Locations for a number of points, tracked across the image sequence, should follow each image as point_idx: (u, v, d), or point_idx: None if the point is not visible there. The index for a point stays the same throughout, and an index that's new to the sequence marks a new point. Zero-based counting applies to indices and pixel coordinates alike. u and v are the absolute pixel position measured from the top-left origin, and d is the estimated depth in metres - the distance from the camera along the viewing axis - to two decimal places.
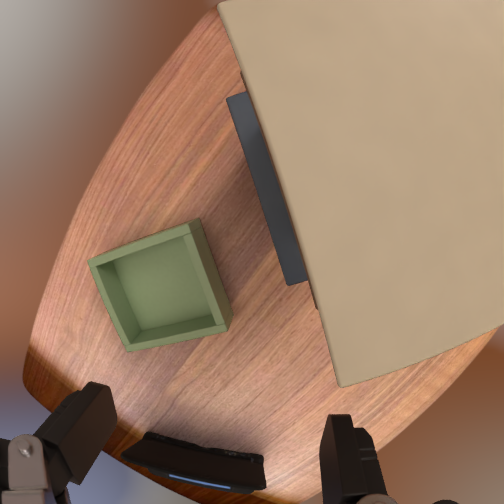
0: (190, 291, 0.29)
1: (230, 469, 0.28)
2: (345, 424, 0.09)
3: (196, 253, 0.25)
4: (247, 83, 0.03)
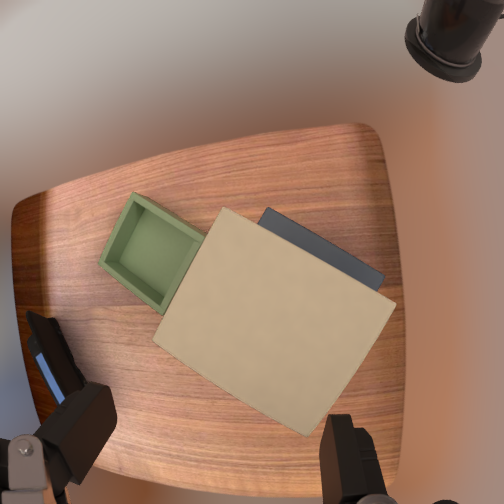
0: (168, 272, 0.36)
1: None
2: (345, 424, 0.09)
3: (191, 257, 0.32)
4: (204, 239, 0.10)
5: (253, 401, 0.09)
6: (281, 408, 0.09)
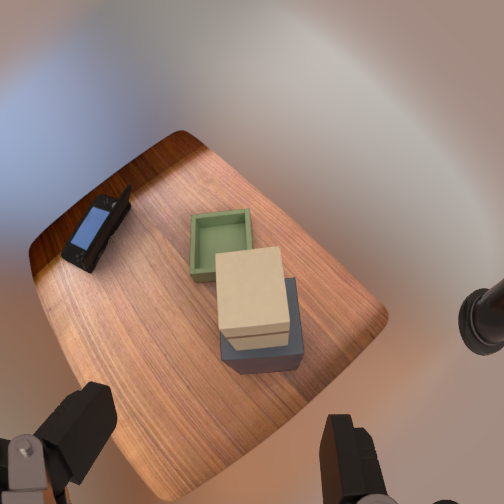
0: None
1: (97, 246, 0.48)
2: (345, 424, 0.09)
3: None
4: None
5: (220, 300, 0.23)
6: (224, 311, 0.22)
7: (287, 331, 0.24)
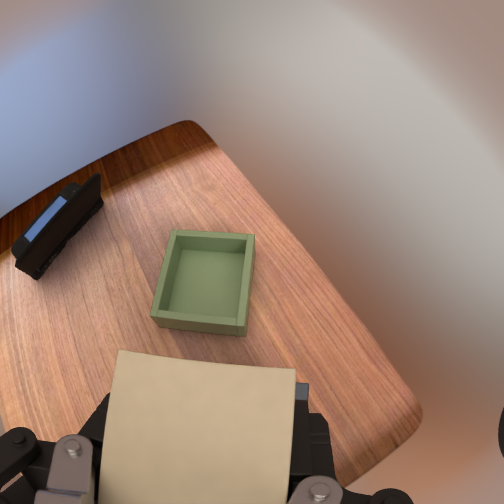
0: (193, 303, 0.34)
1: (42, 249, 0.33)
2: (301, 408, 0.09)
3: (218, 322, 0.30)
4: None
5: (106, 477, 0.06)
6: None
7: None
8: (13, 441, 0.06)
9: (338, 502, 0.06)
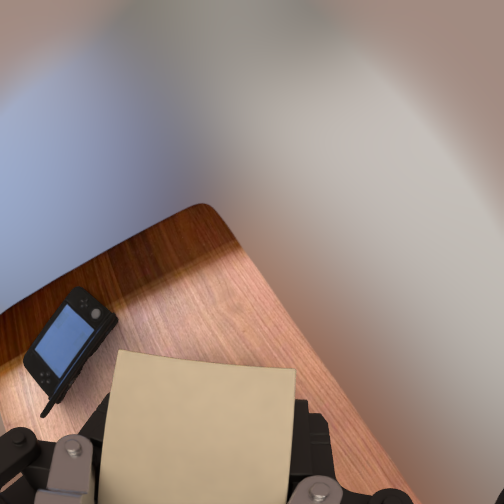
0: None
1: None
2: (301, 408, 0.09)
3: None
4: (251, 366, 0.08)
5: (106, 477, 0.06)
6: None
7: None
8: (13, 441, 0.06)
9: (338, 502, 0.06)
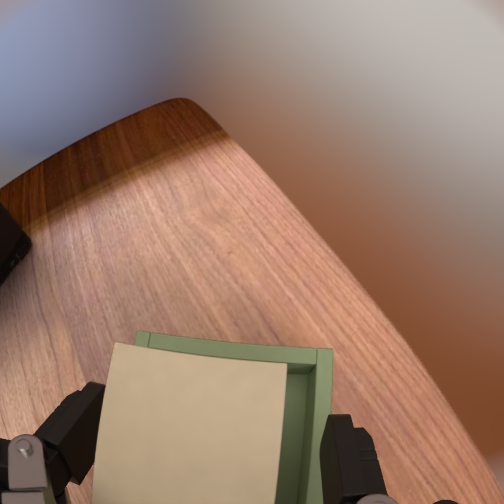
0: None
1: None
2: (345, 424, 0.09)
3: None
4: (243, 360, 0.08)
5: (100, 467, 0.06)
6: (106, 495, 0.06)
7: None
8: None
9: None
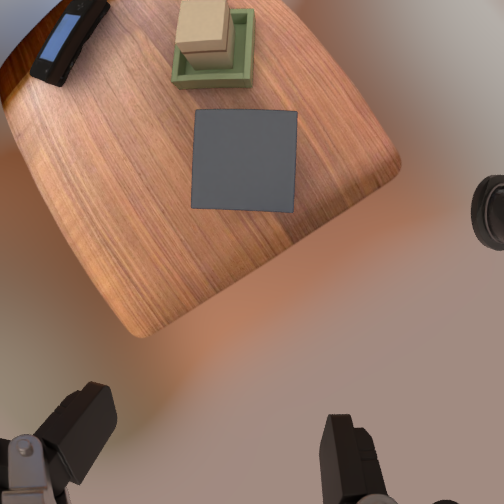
0: None
1: (65, 59, 0.31)
2: (345, 424, 0.09)
3: (228, 77, 0.33)
4: None
5: (179, 26, 0.26)
6: (180, 32, 0.27)
7: (224, 50, 0.29)
8: None
9: None
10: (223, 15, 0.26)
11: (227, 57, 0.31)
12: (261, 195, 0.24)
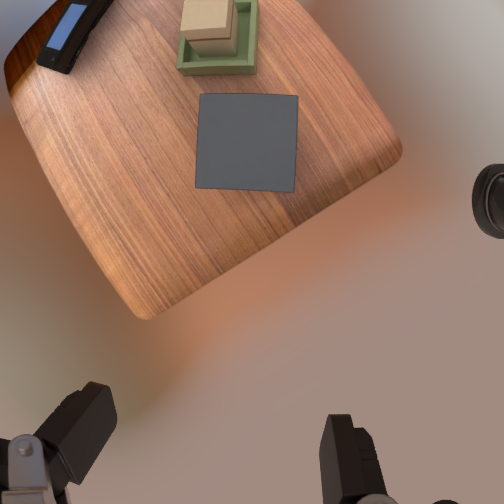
0: None
1: (71, 47, 0.31)
2: (345, 424, 0.09)
3: (232, 64, 0.33)
4: None
5: (184, 15, 0.26)
6: (185, 20, 0.27)
7: (228, 37, 0.29)
8: None
9: None
10: (227, 4, 0.26)
11: (231, 44, 0.31)
12: (263, 176, 0.25)
